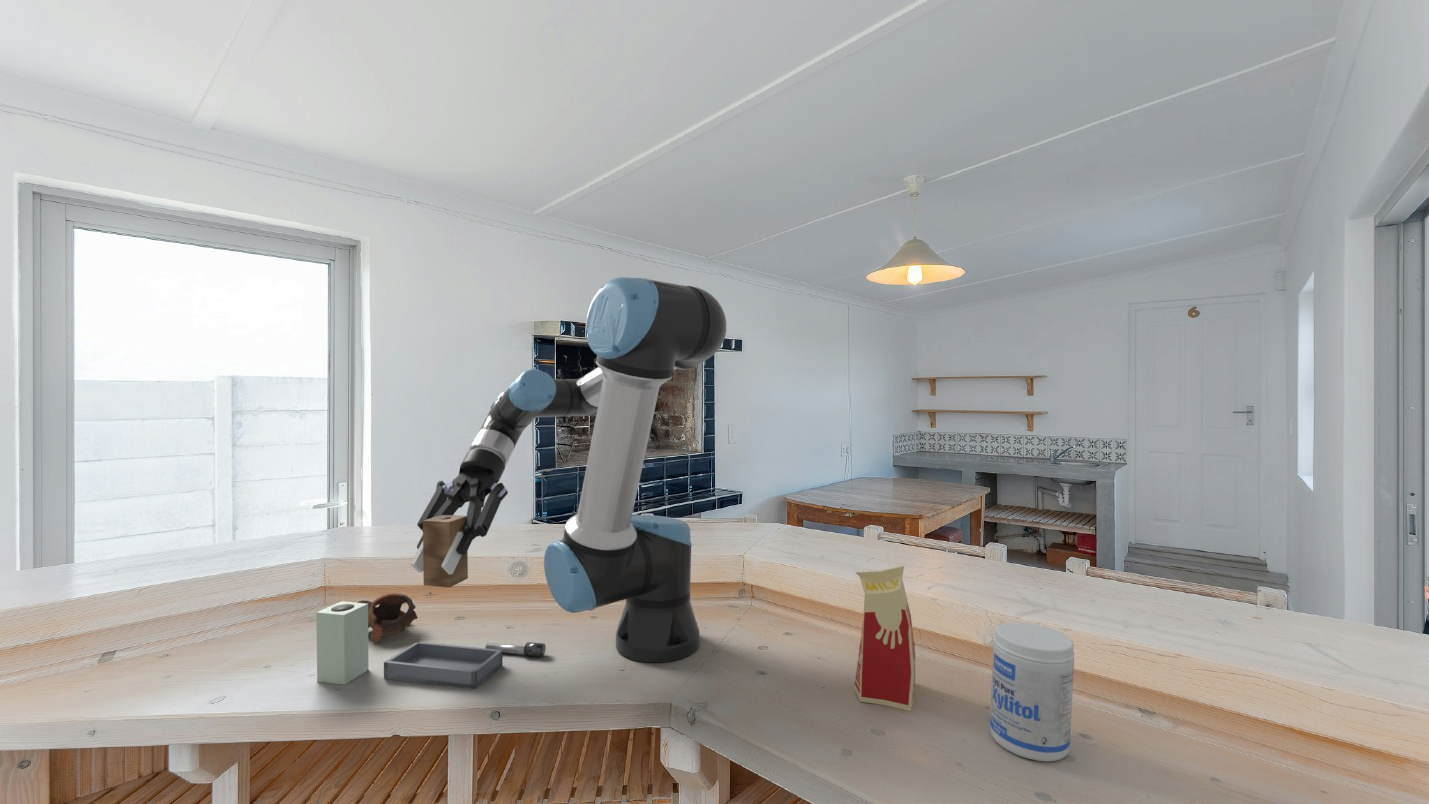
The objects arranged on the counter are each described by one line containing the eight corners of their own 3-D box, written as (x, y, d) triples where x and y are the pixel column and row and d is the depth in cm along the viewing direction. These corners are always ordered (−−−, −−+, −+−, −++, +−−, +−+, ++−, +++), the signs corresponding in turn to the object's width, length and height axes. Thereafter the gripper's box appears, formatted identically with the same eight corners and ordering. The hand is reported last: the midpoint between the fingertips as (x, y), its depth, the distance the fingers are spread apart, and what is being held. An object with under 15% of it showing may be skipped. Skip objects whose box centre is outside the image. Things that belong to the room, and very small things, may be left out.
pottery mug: (425, 623, 121) (427, 594, 117) (400, 663, 113) (401, 633, 109) (364, 608, 120) (364, 578, 117) (335, 648, 112) (334, 617, 108)
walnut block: (467, 578, 107) (467, 515, 107) (449, 587, 102) (449, 521, 102) (442, 576, 108) (441, 514, 108) (423, 585, 104) (422, 520, 103)
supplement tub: (980, 744, 81) (983, 635, 81) (1000, 715, 88) (1003, 614, 88) (1062, 775, 75) (1066, 657, 74) (1077, 741, 82) (1081, 633, 82)
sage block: (368, 670, 100) (368, 603, 100) (344, 684, 95) (344, 614, 95) (342, 667, 101) (341, 600, 101) (317, 681, 96) (316, 612, 96)
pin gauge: (545, 653, 107) (545, 641, 107) (539, 659, 105) (539, 646, 105) (490, 648, 109) (490, 636, 109) (483, 653, 107) (483, 641, 107)
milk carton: (915, 683, 98) (917, 559, 97) (914, 712, 89) (917, 576, 88) (857, 673, 101) (859, 553, 100) (850, 701, 92) (852, 569, 91)
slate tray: (502, 665, 102) (502, 650, 102) (474, 688, 94) (474, 672, 94) (417, 656, 105) (417, 641, 105) (383, 678, 98) (383, 662, 97)
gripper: (537, 472, 118) (489, 583, 102) (453, 470, 122) (395, 577, 106) (522, 447, 113) (470, 560, 97) (436, 445, 117) (372, 554, 101)
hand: (431, 569), depth 102 cm, fingers closed on walnut block, 5 cm apart
